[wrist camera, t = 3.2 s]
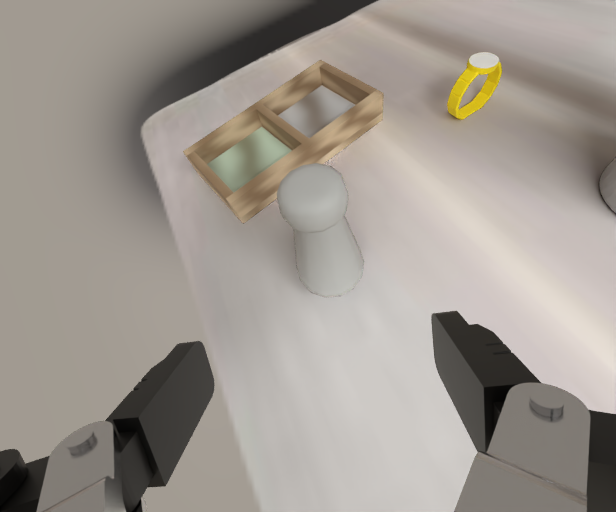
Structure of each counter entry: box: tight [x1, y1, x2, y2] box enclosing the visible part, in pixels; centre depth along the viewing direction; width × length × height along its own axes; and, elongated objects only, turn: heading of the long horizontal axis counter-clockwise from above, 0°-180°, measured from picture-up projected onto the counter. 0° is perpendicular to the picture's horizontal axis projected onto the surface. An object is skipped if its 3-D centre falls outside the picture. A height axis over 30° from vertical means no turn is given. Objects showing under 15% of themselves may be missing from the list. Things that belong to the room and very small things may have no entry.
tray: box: [183, 60, 383, 224], centre depth 37 cm, size 21×11×4 cm, turn 129°
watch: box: [447, 52, 502, 120], centre depth 34 cm, size 6×3×6 cm, turn 122°
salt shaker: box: [277, 163, 364, 297], centre depth 24 cm, size 6×6×13 cm
